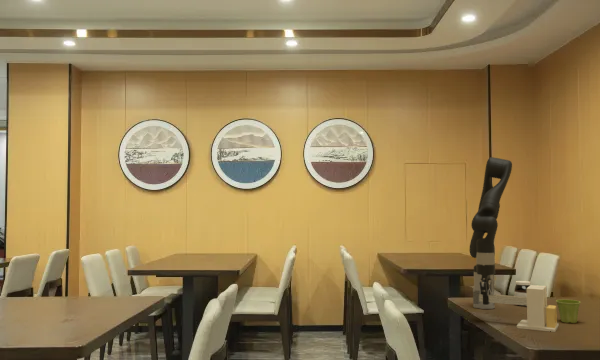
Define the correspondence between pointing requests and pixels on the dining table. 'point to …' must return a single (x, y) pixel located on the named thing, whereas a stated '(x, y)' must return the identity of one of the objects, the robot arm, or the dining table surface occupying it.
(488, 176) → the robot arm
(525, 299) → the shaft
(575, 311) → the plant pot
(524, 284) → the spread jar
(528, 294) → the bracket
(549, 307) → the block
